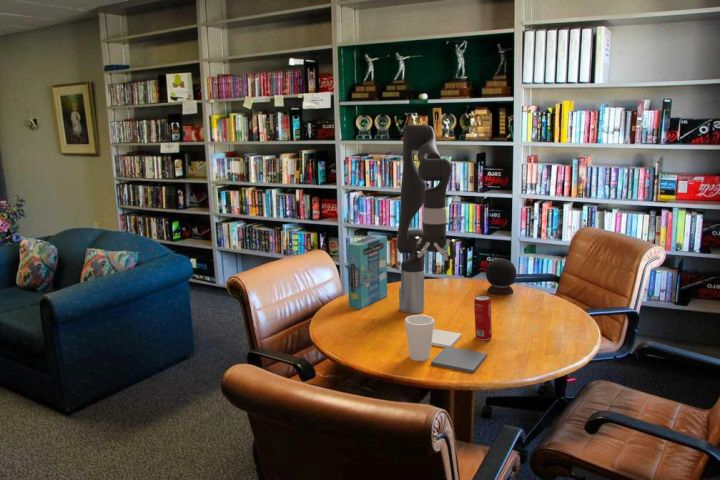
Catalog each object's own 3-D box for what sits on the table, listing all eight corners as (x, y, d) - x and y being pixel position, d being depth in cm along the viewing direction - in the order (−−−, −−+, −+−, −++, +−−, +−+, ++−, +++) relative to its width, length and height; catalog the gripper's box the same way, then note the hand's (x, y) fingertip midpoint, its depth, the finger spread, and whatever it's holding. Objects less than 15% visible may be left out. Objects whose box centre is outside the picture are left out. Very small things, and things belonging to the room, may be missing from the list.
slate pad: (431, 364, 188) (431, 361, 187) (446, 348, 200) (446, 346, 199) (473, 373, 181) (473, 370, 181) (486, 356, 193) (486, 353, 193)
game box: (375, 294, 260) (375, 234, 254) (387, 296, 256) (387, 236, 250) (348, 307, 244) (346, 243, 238) (360, 309, 240) (359, 245, 234)
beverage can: (492, 341, 205) (493, 300, 202) (473, 340, 206) (474, 299, 203) (491, 335, 211) (493, 295, 208) (473, 334, 212) (474, 294, 209)
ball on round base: (482, 294, 257) (483, 261, 254) (488, 285, 269) (489, 254, 266) (513, 297, 252) (514, 263, 249) (517, 288, 264) (519, 256, 261)
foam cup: (403, 352, 198) (403, 315, 195) (430, 350, 198) (430, 314, 196) (407, 363, 188) (407, 325, 186) (436, 362, 189) (436, 324, 186)
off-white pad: (417, 342, 206) (417, 339, 205) (430, 331, 216) (430, 328, 216) (450, 348, 200) (450, 345, 200) (461, 336, 210) (461, 333, 210)
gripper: (409, 221, 189) (409, 270, 193) (451, 224, 183) (450, 274, 186) (418, 217, 196) (418, 264, 199) (459, 220, 189) (458, 269, 193)
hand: (433, 269), depth 193 cm, fingers open, 8 cm apart
